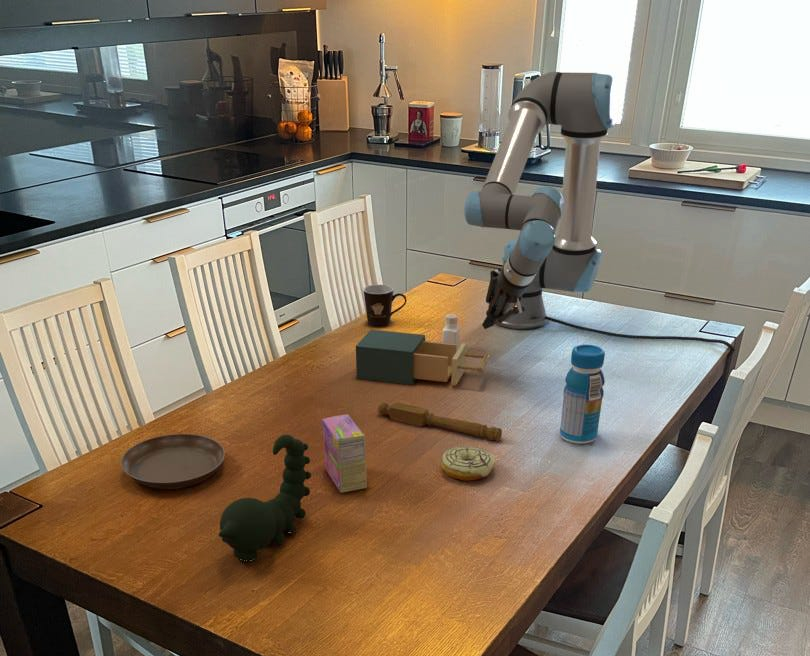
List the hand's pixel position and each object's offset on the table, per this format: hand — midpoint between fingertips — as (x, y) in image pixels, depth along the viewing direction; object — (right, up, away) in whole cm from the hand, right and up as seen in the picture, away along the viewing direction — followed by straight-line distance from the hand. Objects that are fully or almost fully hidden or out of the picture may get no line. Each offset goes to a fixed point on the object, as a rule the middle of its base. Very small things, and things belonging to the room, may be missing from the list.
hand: (487, 325), depth 223 cm
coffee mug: (-28, +6, +25) cm, 38 cm away
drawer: (-11, -15, -9) cm, 21 cm away
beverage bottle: (+17, -33, -35) cm, 51 cm away
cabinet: (-25, -13, -5) cm, 29 cm away
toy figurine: (-46, -57, -69) cm, 100 cm away
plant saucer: (-69, -42, -47) cm, 93 cm away
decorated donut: (-9, -42, -48) cm, 64 cm away
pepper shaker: (-9, -5, +8) cm, 13 cm away
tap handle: (-14, -31, -31) cm, 46 cm away
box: (-34, -44, -50) cm, 75 cm away
